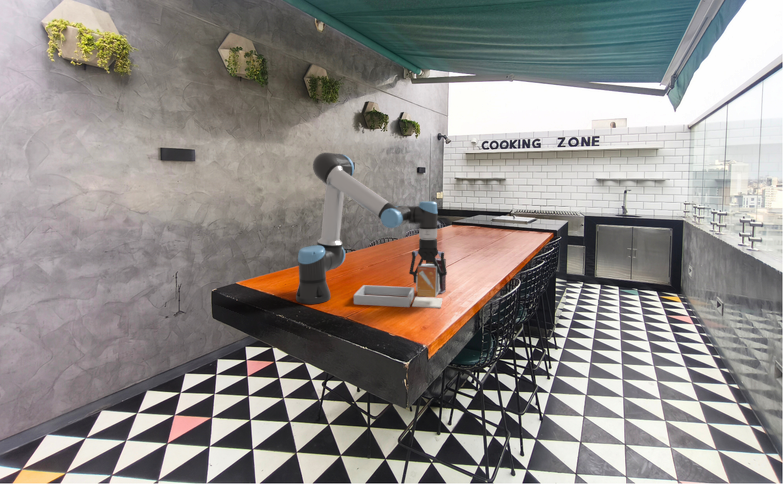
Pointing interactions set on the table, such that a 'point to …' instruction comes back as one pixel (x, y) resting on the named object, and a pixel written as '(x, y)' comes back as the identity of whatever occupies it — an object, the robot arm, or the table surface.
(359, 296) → the bin
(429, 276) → the small box
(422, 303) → the tile
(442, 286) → the supplement box
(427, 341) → the table surface
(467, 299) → the table surface
